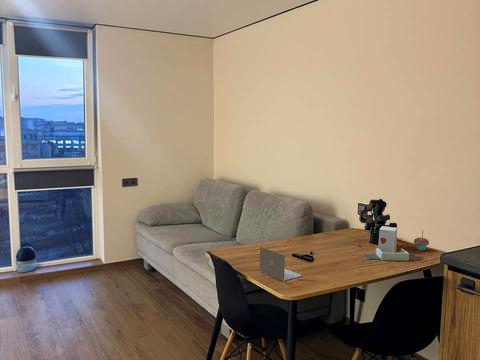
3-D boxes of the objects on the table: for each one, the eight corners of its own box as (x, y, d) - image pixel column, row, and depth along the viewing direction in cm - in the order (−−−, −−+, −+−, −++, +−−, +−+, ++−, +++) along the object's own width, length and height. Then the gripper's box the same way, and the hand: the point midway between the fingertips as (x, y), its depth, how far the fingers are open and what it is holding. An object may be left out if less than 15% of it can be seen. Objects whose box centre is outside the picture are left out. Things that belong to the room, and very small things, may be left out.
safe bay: (363, 254, 250) (364, 247, 250) (414, 255, 250) (414, 248, 249) (368, 259, 240) (369, 252, 240) (421, 260, 240) (421, 253, 239)
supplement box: (377, 254, 252) (378, 228, 250) (380, 250, 260) (381, 225, 258) (394, 256, 247) (395, 230, 246) (396, 252, 255) (397, 227, 254)
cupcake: (415, 246, 269) (416, 227, 268) (429, 248, 265) (431, 229, 263) (411, 249, 262) (413, 230, 261) (426, 252, 257) (428, 232, 256)
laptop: (302, 276, 212) (303, 250, 211) (283, 282, 204) (284, 255, 203) (277, 267, 226) (278, 242, 225) (259, 271, 219) (259, 246, 217)
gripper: (366, 209, 265) (370, 231, 255) (397, 209, 264) (402, 231, 255) (362, 219, 273) (366, 241, 264) (392, 219, 273) (397, 241, 263)
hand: (383, 238), depth 261 cm, fingers closed
